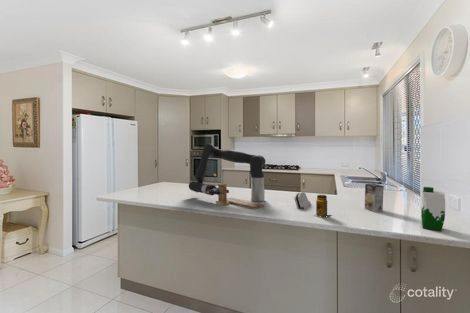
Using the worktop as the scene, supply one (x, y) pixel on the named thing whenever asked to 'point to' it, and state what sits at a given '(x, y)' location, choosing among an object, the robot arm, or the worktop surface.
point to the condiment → (321, 205)
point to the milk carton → (433, 209)
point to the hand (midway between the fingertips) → (224, 192)
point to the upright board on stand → (222, 195)
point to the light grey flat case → (301, 200)
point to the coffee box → (374, 197)
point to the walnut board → (244, 203)
